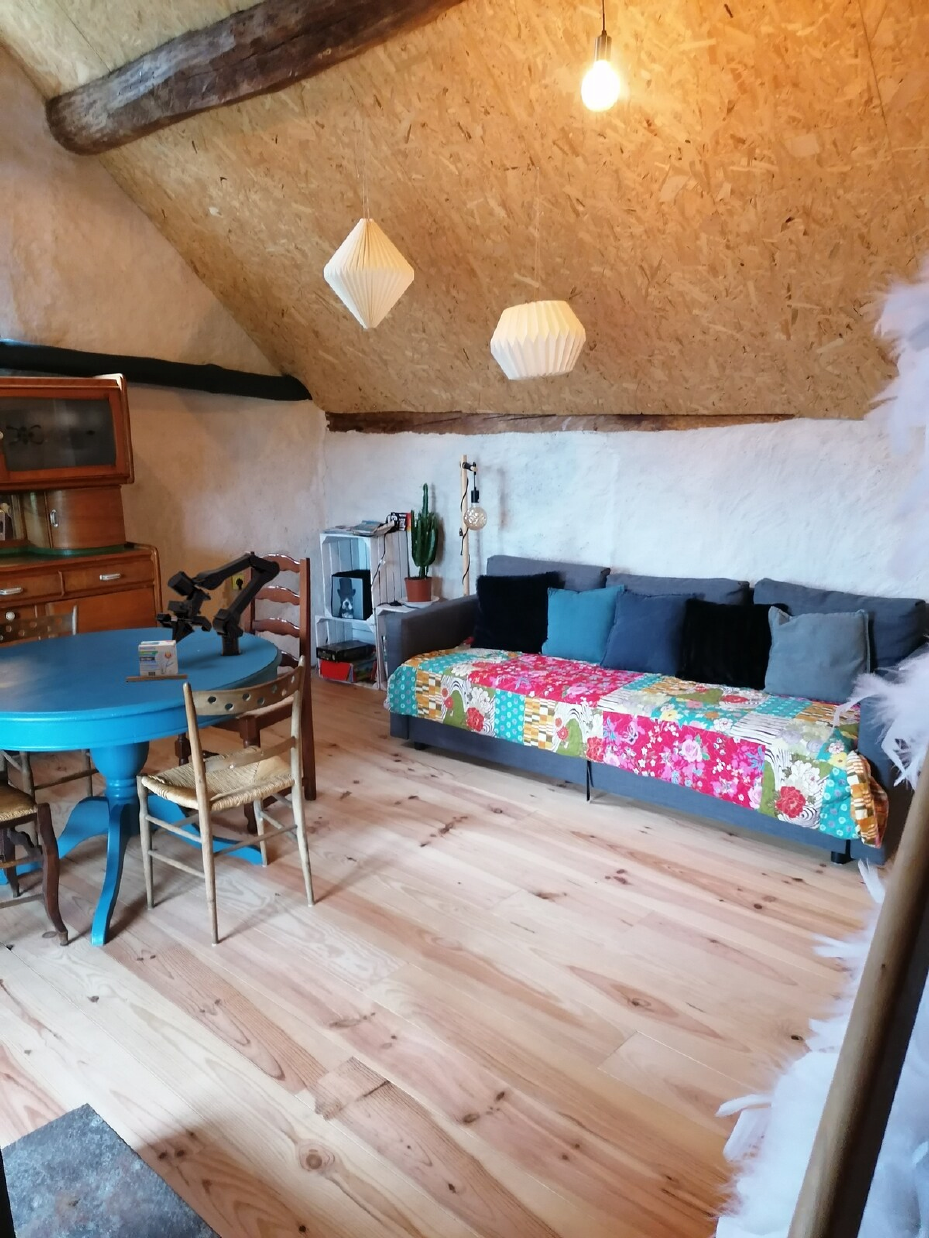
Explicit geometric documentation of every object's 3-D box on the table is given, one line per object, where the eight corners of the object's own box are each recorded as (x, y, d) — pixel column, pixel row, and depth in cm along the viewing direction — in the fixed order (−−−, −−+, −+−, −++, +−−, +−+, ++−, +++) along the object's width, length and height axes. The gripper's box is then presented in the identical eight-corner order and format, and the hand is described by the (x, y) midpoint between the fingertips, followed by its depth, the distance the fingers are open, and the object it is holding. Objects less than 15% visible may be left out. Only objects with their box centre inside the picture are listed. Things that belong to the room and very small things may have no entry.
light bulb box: (140, 679, 259) (137, 646, 257) (143, 673, 266) (141, 641, 264) (175, 677, 261) (173, 644, 259) (178, 672, 268) (176, 639, 266)
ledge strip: (127, 680, 258) (127, 676, 258) (187, 677, 262) (187, 673, 261) (126, 681, 257) (126, 678, 256) (186, 678, 260) (186, 675, 260)
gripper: (156, 588, 274) (136, 628, 266) (204, 591, 268) (184, 632, 260) (173, 608, 282) (154, 646, 274) (220, 611, 276) (202, 651, 268)
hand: (173, 643), depth 269 cm, fingers closed
